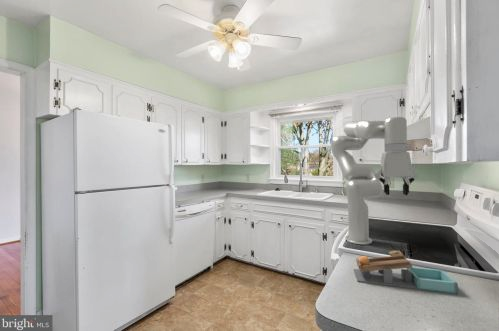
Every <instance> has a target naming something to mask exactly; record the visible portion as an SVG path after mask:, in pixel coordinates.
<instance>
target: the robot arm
mask: <svg viewBox="0 0 499 331" xmlns="http://www.w3.org/2000/svg"><path fill="white" fill-rule="evenodd" d="M407 122H408V121H407V118H406V117H403V116H394V117H389V118H386V119H384V120H356V121H349V122H348V123H346V124H345V125H344V127H343V132H344V135H339V136H334V137H333V138H332V139H331V141H330V142H331V143H330V148H331V152H332V154H333V157H334V159H335V160H336V162H337V163H338V165H339V167H340V170H341V173H342V176H343V177H344V179H345V180H346V181H347V183H346V184H345V193H346V197H347V214H348V217H347V219H348V220H347V221H348V222H347V224H348V226H347V227H348V230H347V231H348V235H346V236H345V241H346V240H347V241H346V242H348V243H350V244H355V245H364V246H365V245H371V244H372V243H373V239H372V238H370V237H369V235H370V234H369V228H370V226H369V207H368V203H367V202H366V201H365V200H364V199H377V198H380V197H381V196H382V195H383V193H385V195H386V196H389V195H390V184H389V182H390V179H391V178H393V179H394V178H396V179H397V178H399V179H400V178H401V179H402V181H403V184H402V194H403V195H404V196H408V195H409V193H410V185H411V184H412V183H413V182H414V181H415V180H416V179H417V178H419V174H418V173H417V172H416V171H415V170H414V169H413V167H412V166H413V164H412V159H411V154H410V152H409V151H408V150H411V149H412V145H408V132H407V130H408V128H407V127H408V126H407ZM374 139H378V140H379V139H380V140H381V139H382V140H383V139H384V152H383V153H381V158H380V159H381V160H380V169H379V170H378V171H377V172H376V171H375V169H374V167H373V166H372V165H371V164H369V163H357V162H356V160H355V158H354V156H353V155H352V154H351V153H350V152H348V151H360V150H361V149H363V148H364V147H365V146H366V144H367V143H368V141H369V140H374ZM382 184H383V186H382Z"/></svg>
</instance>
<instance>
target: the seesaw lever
mask: <svg viewBox="0 0 499 331" xmlns="http://www.w3.org/2000/svg"><path fill="white" fill-rule="evenodd" d="M388 254H389V255H390V256H381V257H373V258H369V257H368V259H369V264H368V265H362V264H361V263H360V261H359V259H360V258H359V257H357V258H356V257H355V261H356V265H357V267H358V268H357V269H359V270H360V272H366V271H378V270H383V269H392V270H399V269H407V268H412V267H413V264H412V263H411V261H409V260H408V259H407V257H406V255H404V254H403V253H402V252H401V251H400V250H392V251H388Z"/></svg>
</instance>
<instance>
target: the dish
mask: <svg viewBox="0 0 499 331" xmlns="http://www.w3.org/2000/svg"><path fill="white" fill-rule="evenodd" d="M406 270H409V272H410V273H411V274H412V282H413V283H414V284H415V285H416V287H417V289H416V290H421V291H429V292H438V293H447V294H454V295H456V294H457V295H458V294H459V293H458V291H459V290H458V288H459V286H458V285H459V284H458V282H456V281H455V280H454V279H453V278H452V277H451V276H450V275H449V274H447V273H446V272H445V271H444V270H443V269H438V268H437V269H435V268H427V267H426V268H424V267H416V266H412V268H406Z"/></svg>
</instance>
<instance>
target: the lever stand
mask: <svg viewBox="0 0 499 331" xmlns="http://www.w3.org/2000/svg"><path fill="white" fill-rule="evenodd" d="M400 269H401V270H400V273H398V272H397V273H396V272H393V269H383V270H377V271H366V272H360V270H359V268H353V272H354V275H355V278H356V281H357V283H365V284H373V285H382V286H383V285H384V286H389V287H397V288H405V289H407V288H409V289H416V290H418V289H417V287H416V285H415V284H414V283H413V282H412V274H411V273H410V272H409V270H407V268H400Z"/></svg>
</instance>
